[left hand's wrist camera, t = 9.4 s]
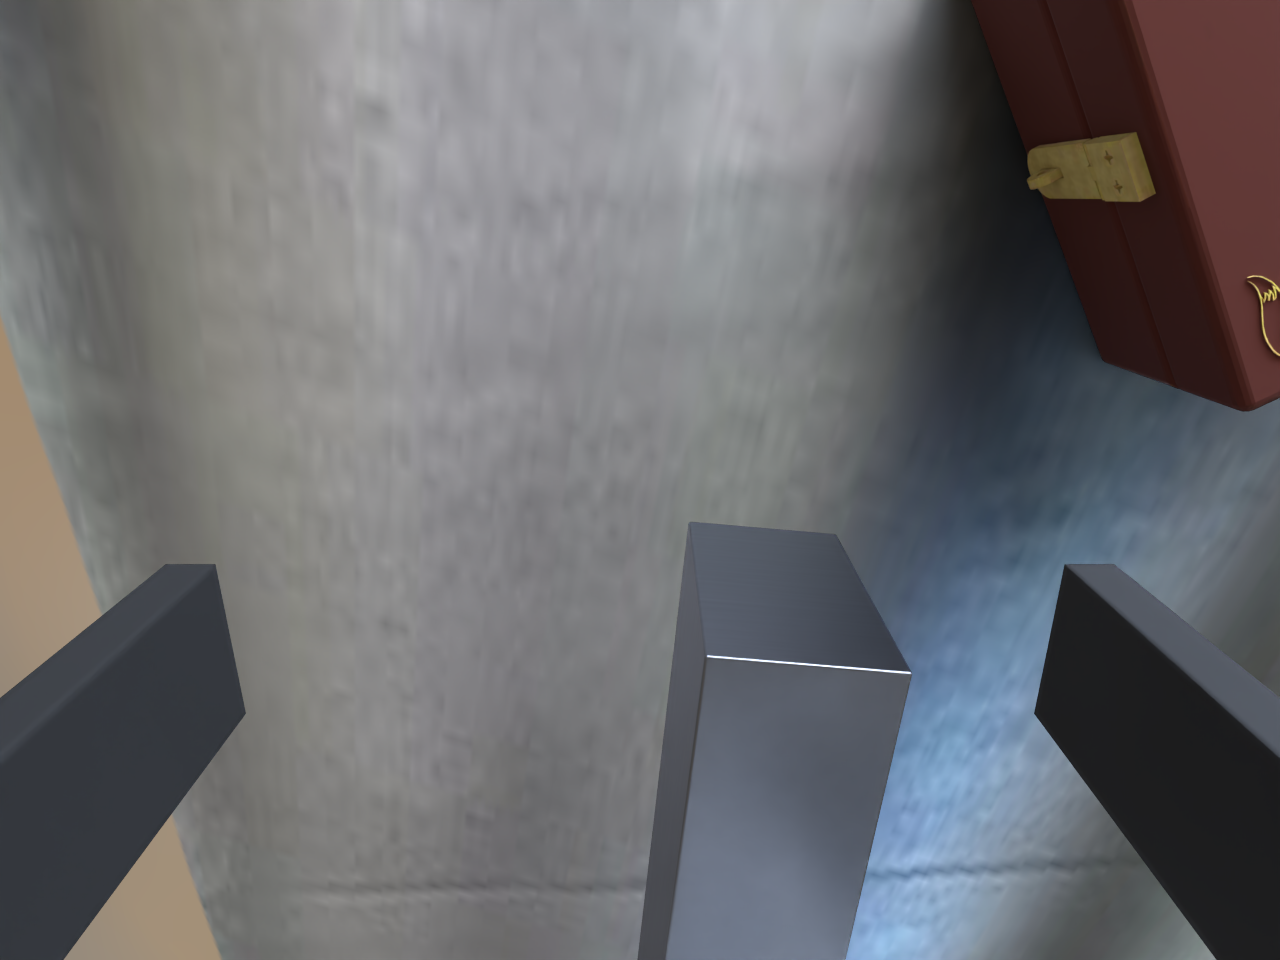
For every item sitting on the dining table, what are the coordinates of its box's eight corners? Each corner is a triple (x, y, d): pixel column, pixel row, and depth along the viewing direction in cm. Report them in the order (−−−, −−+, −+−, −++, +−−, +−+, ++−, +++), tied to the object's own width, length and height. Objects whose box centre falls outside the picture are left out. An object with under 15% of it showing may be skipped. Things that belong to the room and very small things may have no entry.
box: (916, -44, 34) (1021, -136, 25) (1309, -282, 31) (1595, -486, 22) (1077, 380, 40) (1211, 437, 31) (1417, 212, 37) (1678, 218, 28)
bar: (688, 520, 27) (704, 656, 19) (836, 533, 28) (913, 673, 19) (631, 1004, 35) (626, 1245, 27) (747, 1013, 35) (776, 1256, 27)
